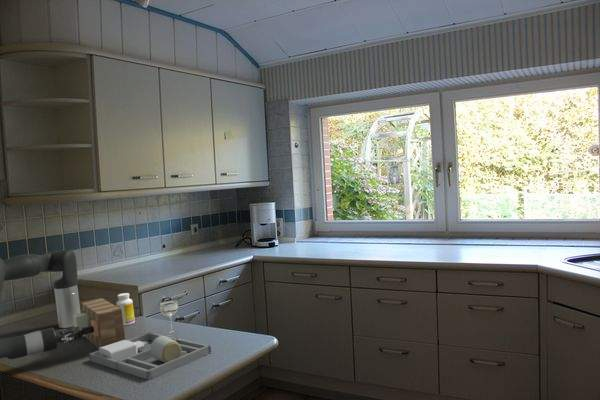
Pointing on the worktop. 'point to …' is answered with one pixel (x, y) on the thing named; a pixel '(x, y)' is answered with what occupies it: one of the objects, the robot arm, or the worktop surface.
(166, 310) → the wineglass
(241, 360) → the worktop surface
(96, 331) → the button terracotta
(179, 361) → the counter rail frame
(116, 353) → the charger
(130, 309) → the supplement bottle
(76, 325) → the button sage
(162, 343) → the ceramic mug
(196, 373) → the worktop surface
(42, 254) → the robot arm
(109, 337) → the panel
